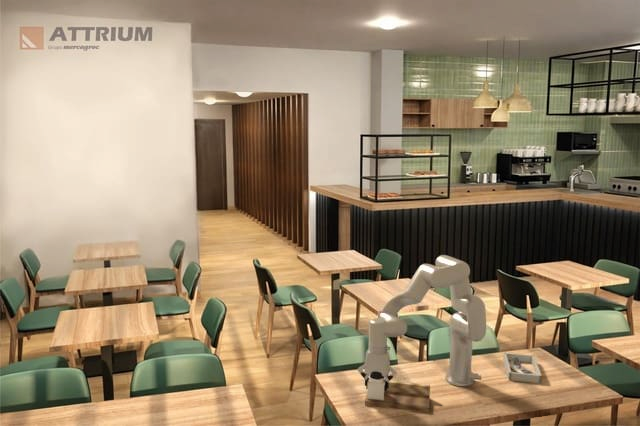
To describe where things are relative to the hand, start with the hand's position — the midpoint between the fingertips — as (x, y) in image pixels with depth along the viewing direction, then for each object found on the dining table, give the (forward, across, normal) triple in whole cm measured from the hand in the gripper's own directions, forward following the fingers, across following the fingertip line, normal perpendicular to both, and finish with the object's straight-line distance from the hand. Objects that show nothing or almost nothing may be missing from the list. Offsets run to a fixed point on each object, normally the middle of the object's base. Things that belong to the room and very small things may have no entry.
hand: (376, 388), depth 232 cm
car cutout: (+6, -64, -44) cm, 78 cm away
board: (+5, -9, -1) cm, 10 cm away
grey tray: (+6, -64, -44) cm, 78 cm away
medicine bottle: (+4, 0, 0) cm, 4 cm away
